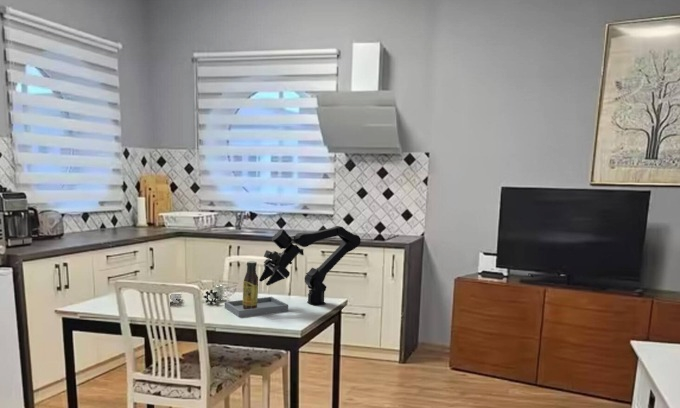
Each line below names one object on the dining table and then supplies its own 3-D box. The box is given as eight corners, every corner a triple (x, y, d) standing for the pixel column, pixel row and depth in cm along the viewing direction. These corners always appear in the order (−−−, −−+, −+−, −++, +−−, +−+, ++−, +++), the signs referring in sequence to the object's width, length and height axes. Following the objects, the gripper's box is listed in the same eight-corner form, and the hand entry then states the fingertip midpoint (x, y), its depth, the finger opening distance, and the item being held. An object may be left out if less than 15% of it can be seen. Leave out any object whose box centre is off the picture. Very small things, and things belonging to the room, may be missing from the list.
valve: (213, 298, 234) (203, 304, 222) (213, 284, 233) (203, 289, 221) (227, 298, 233) (218, 305, 221) (227, 284, 233) (218, 290, 221)
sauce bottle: (239, 307, 213) (240, 261, 213) (251, 305, 218) (251, 259, 217) (249, 310, 209) (249, 263, 208) (260, 308, 214) (261, 261, 213)
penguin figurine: (163, 284, 219) (172, 281, 231) (162, 304, 219) (171, 300, 231) (177, 285, 219) (186, 282, 231) (176, 304, 219) (185, 300, 231)
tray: (271, 302, 228) (271, 296, 228) (288, 310, 214) (288, 304, 214) (224, 307, 216) (224, 301, 216) (238, 317, 202) (238, 310, 202)
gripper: (268, 241, 226) (244, 267, 221) (282, 246, 209) (257, 274, 204) (284, 257, 229) (261, 283, 225) (300, 263, 213) (275, 292, 208)
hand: (263, 282), depth 216 cm, fingers open, 9 cm apart
